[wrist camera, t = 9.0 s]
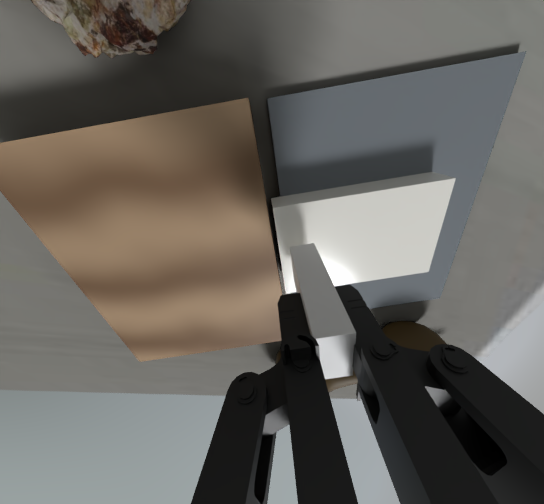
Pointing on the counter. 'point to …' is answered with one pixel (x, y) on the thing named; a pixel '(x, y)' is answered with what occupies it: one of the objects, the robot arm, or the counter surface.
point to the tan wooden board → (157, 225)
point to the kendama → (402, 335)
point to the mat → (398, 146)
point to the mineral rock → (114, 23)
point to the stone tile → (365, 227)
